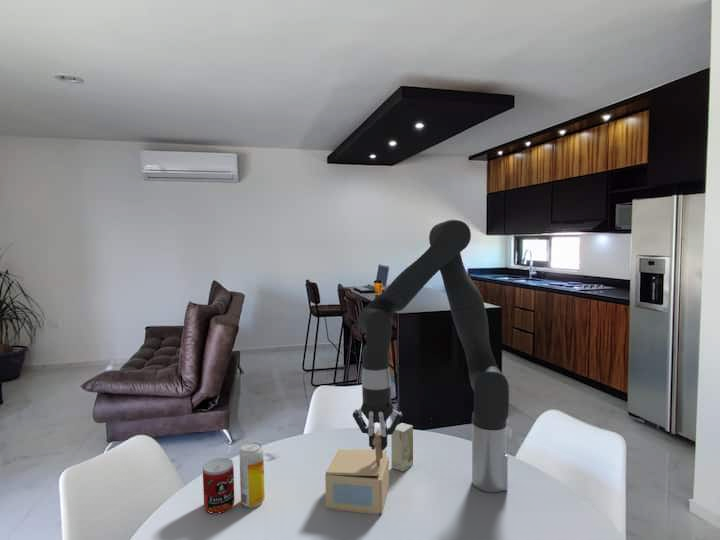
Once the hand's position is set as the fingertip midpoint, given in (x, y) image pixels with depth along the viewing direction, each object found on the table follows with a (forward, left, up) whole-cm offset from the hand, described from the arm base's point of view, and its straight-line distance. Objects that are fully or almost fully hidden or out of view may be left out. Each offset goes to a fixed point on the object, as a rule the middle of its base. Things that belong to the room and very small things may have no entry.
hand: (378, 448), depth 115 cm
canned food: (+41, +10, -14) cm, 44 cm away
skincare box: (-4, -19, -14) cm, 24 cm away
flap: (+6, 0, -4) cm, 7 cm away
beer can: (+33, +7, -14) cm, 36 cm away
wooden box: (+6, 0, -14) cm, 15 cm away
